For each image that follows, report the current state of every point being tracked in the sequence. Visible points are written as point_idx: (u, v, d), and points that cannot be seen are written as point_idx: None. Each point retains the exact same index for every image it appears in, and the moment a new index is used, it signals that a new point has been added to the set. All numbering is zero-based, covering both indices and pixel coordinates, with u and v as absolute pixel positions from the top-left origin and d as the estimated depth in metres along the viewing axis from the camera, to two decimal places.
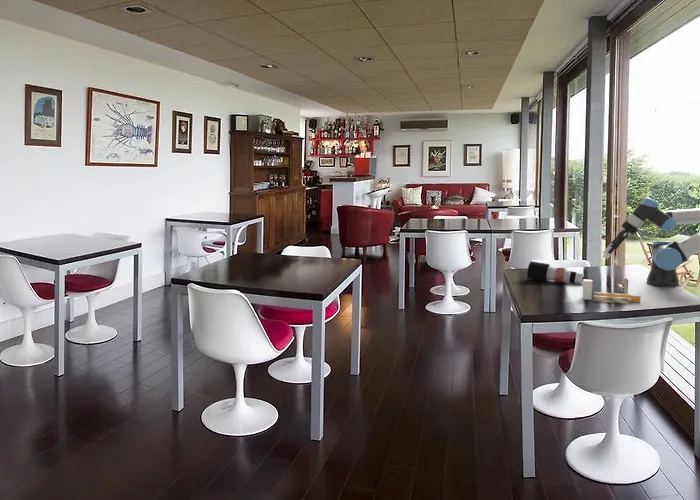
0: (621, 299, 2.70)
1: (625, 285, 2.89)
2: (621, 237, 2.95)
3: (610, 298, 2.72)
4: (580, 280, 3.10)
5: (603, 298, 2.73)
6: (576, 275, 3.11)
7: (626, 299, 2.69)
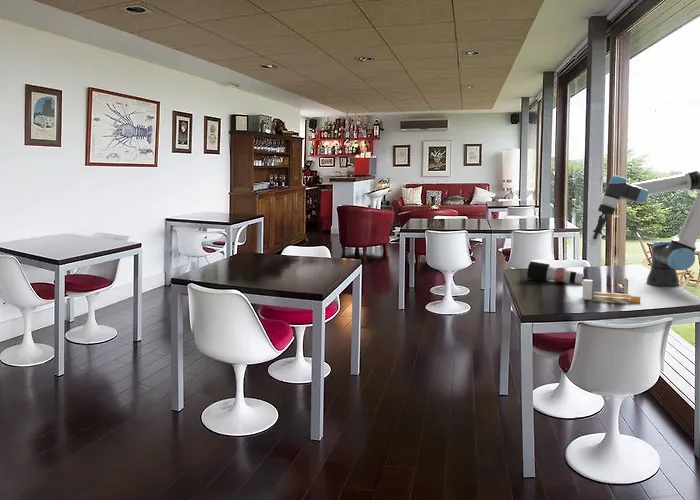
0: (621, 299, 2.70)
1: (625, 285, 2.89)
2: (601, 219, 2.87)
3: (610, 298, 2.72)
4: (580, 280, 3.10)
5: (603, 298, 2.73)
6: (576, 275, 3.11)
7: (626, 299, 2.69)
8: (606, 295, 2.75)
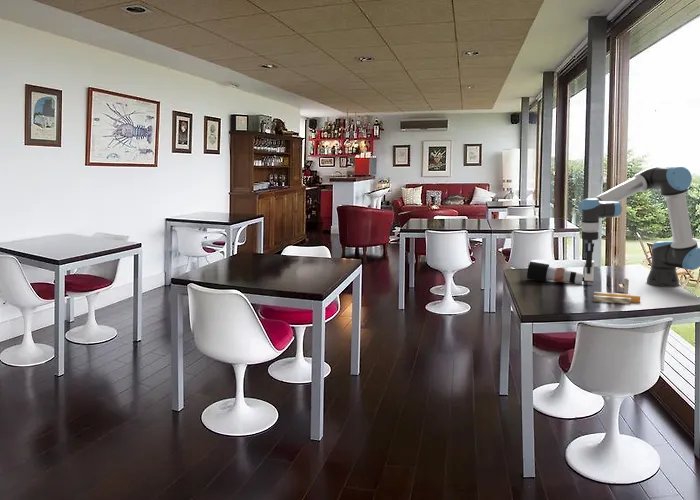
0: (621, 299, 2.70)
1: (625, 285, 2.89)
2: (588, 253, 2.72)
3: (610, 298, 2.72)
4: (580, 280, 3.10)
5: (603, 298, 2.73)
6: (576, 275, 3.11)
7: (626, 299, 2.69)
8: None
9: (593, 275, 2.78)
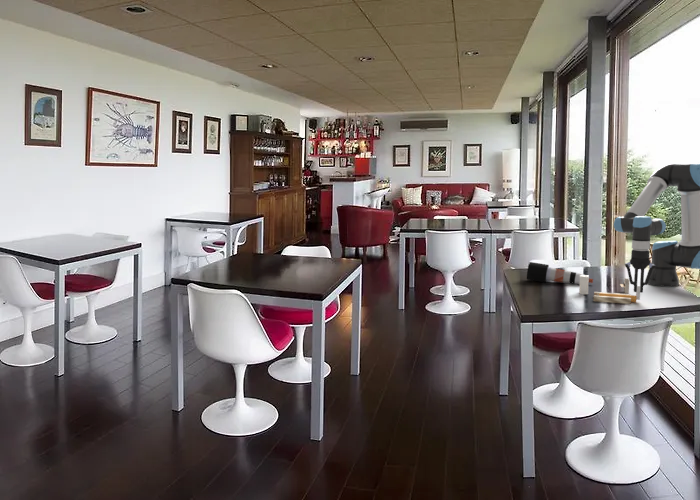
0: (621, 299, 2.70)
1: (626, 285, 2.89)
2: (627, 270, 2.72)
3: (610, 298, 2.72)
4: None
5: (603, 298, 2.73)
6: (576, 275, 3.10)
7: (626, 299, 2.69)
8: (602, 293, 2.76)
9: None
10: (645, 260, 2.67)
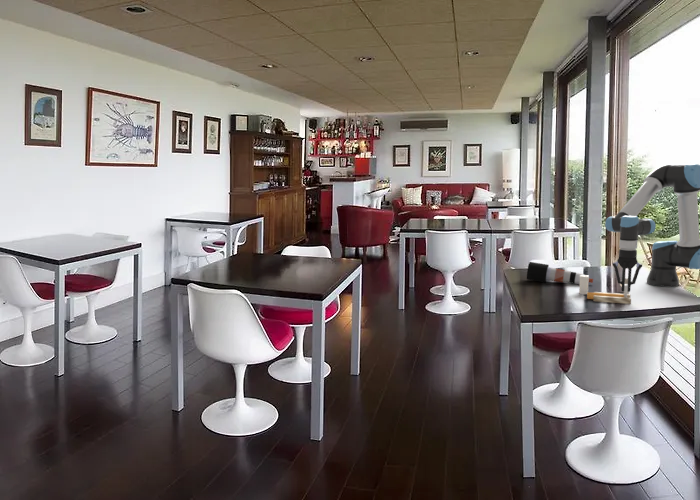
0: (621, 299, 2.70)
1: None
2: (615, 269, 2.74)
3: (610, 298, 2.72)
4: None
5: (603, 298, 2.73)
6: (576, 275, 3.10)
7: (626, 299, 2.69)
8: (590, 292, 2.78)
9: None
10: (632, 259, 2.69)
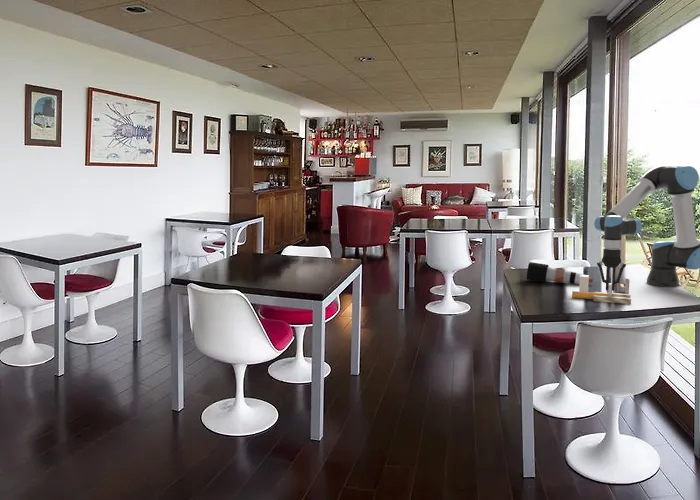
0: (621, 299, 2.70)
1: (626, 285, 2.89)
2: (599, 268, 2.77)
3: (610, 298, 2.72)
4: None
5: (603, 298, 2.73)
6: (576, 275, 3.10)
7: (626, 299, 2.69)
8: (575, 291, 2.81)
9: None
10: (616, 259, 2.72)
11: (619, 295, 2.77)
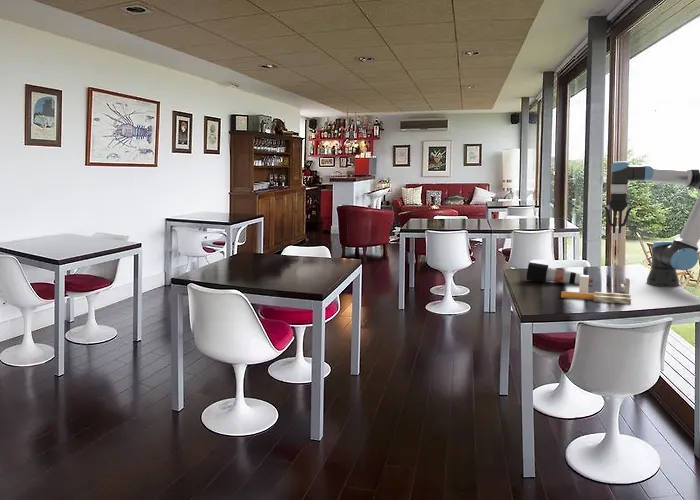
0: (621, 299, 2.70)
1: (626, 285, 2.89)
2: None
3: (610, 298, 2.72)
4: None
5: (603, 298, 2.73)
6: (576, 276, 3.10)
7: (626, 299, 2.69)
8: (564, 292, 2.82)
9: None
10: (623, 202, 2.87)
11: (619, 295, 2.77)
